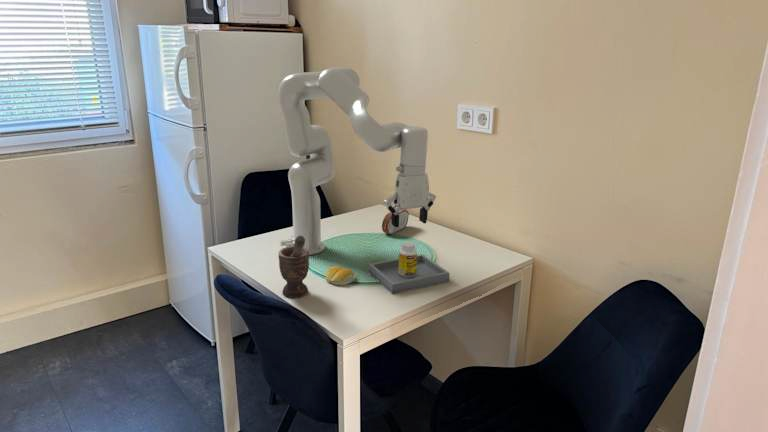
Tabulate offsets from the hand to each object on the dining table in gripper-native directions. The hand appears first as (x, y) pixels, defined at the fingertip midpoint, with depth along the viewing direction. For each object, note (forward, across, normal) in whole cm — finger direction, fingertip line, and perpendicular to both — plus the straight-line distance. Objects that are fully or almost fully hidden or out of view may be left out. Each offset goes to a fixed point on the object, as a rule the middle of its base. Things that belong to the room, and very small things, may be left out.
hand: (409, 223), depth 161 cm
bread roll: (+18, -20, +7) cm, 28 cm away
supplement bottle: (+17, 0, 0) cm, 17 cm away
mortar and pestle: (+18, -35, +2) cm, 39 cm away
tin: (+18, +16, +37) cm, 45 cm away
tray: (+18, 0, -1) cm, 18 cm away
